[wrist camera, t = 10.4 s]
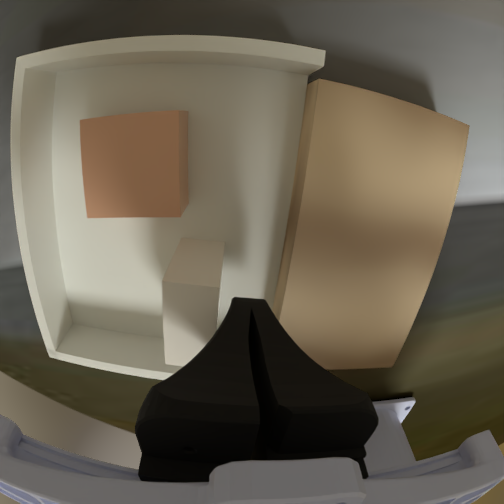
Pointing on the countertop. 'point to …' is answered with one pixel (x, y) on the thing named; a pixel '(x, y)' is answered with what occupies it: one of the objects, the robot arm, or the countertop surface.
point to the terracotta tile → (135, 164)
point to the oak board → (364, 222)
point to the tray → (152, 228)
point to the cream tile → (191, 298)
